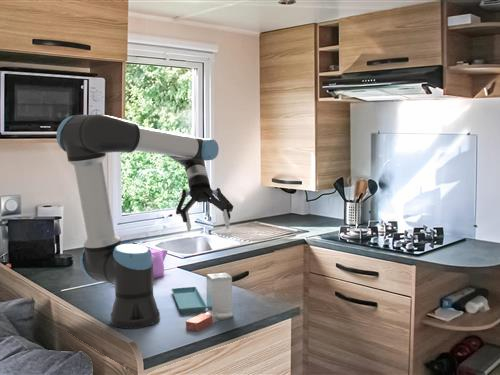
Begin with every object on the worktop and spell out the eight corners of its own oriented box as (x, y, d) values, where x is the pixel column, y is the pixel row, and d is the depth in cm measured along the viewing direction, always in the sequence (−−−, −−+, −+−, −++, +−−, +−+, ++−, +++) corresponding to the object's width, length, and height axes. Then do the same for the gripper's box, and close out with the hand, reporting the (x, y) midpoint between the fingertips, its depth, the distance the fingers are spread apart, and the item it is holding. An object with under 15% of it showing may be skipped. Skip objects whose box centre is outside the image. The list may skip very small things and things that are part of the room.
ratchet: (202, 332, 172) (201, 309, 171) (180, 328, 176) (180, 305, 175) (237, 314, 188) (236, 293, 187) (216, 310, 192) (215, 290, 191)
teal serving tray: (171, 294, 214) (170, 287, 214) (196, 292, 216) (195, 285, 216) (179, 316, 189) (179, 308, 188) (207, 313, 191) (207, 306, 190)
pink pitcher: (116, 282, 231) (115, 251, 230) (128, 271, 248) (127, 242, 246) (159, 282, 230) (158, 251, 228) (168, 271, 246) (167, 242, 245)
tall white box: (212, 313, 182) (211, 278, 181) (206, 307, 188) (206, 274, 188) (232, 311, 184) (231, 277, 184) (226, 306, 191) (226, 272, 190)
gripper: (229, 185, 220) (241, 232, 207) (162, 188, 212) (171, 236, 199) (233, 172, 214) (246, 219, 201) (165, 174, 206) (174, 223, 193)
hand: (209, 227), depth 200 cm, fingers open, 13 cm apart
